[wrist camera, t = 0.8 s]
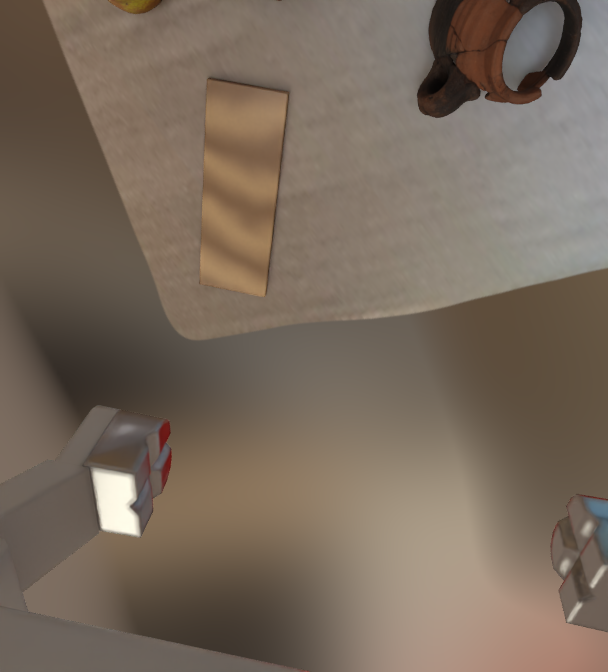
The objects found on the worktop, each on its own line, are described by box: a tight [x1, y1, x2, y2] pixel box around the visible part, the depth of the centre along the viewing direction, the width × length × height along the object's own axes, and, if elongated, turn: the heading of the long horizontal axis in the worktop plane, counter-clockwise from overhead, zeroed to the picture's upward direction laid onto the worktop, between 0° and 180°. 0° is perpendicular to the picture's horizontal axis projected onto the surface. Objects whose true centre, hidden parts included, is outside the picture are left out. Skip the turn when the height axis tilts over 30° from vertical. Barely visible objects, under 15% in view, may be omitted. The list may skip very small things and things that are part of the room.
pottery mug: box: [417, 0, 582, 118], centre depth 42 cm, size 12×10×8 cm
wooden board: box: [199, 78, 289, 297], centre depth 54 cm, size 20×7×1 cm, turn 172°
